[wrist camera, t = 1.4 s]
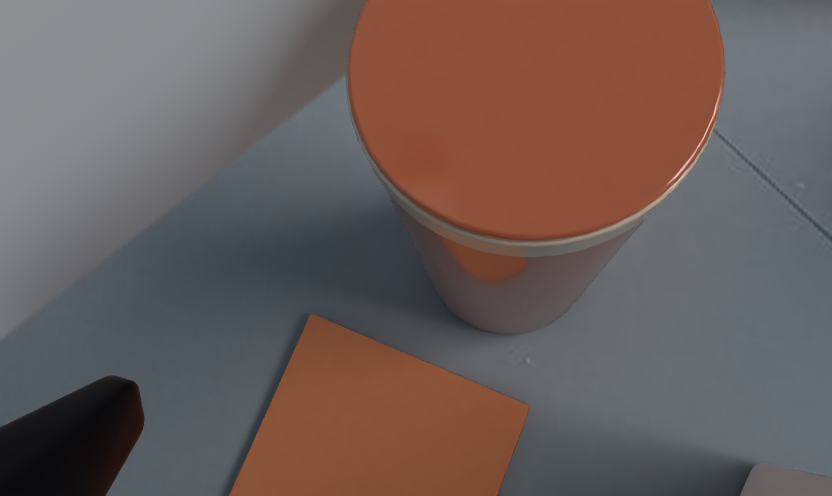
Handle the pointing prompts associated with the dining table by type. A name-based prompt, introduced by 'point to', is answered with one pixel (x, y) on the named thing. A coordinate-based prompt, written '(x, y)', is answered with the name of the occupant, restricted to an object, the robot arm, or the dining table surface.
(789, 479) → the container
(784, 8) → the dining table surface
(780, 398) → the dining table surface
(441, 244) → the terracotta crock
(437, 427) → the terracotta mat
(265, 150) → the dining table surface
